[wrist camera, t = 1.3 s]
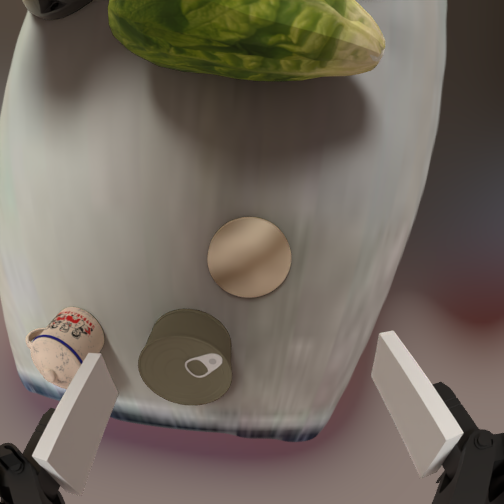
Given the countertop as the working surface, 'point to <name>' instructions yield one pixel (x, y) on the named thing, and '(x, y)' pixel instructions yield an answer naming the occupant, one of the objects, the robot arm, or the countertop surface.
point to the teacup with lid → (65, 345)
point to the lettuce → (251, 37)
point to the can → (187, 358)
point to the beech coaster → (249, 257)
